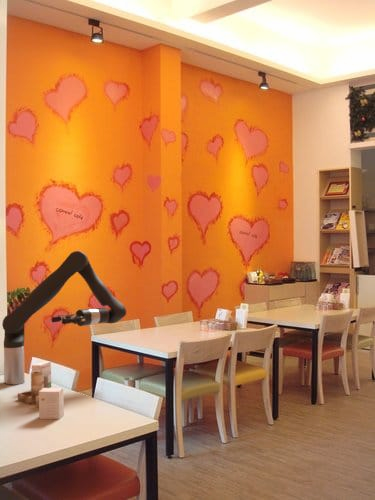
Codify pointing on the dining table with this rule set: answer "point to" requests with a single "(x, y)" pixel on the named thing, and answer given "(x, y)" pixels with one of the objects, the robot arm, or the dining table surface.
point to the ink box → (43, 371)
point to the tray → (27, 398)
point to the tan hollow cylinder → (36, 383)
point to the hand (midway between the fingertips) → (57, 320)
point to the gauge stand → (44, 387)
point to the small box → (51, 403)
